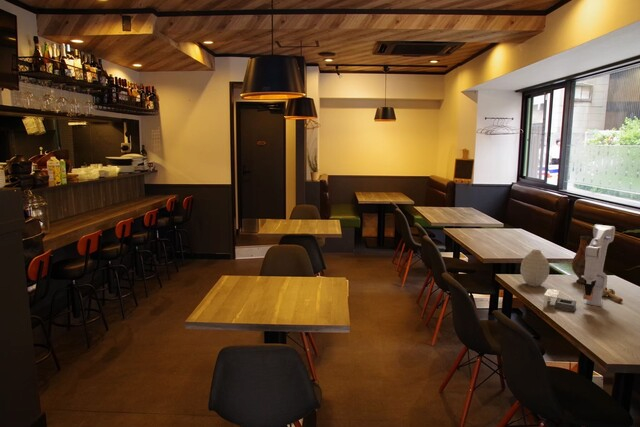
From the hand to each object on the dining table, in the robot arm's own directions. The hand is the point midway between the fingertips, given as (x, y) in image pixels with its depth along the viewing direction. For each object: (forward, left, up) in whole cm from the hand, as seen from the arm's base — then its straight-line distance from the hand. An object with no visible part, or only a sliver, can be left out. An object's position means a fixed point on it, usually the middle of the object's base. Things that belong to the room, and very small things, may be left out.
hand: (588, 294), depth 250 cm
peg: (0, 0, -2) cm, 2 cm away
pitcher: (-58, -5, -10) cm, 59 cm away
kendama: (-34, +9, -10) cm, 37 cm away
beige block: (+1, -17, -9) cm, 19 cm away
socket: (+1, -10, -9) cm, 14 cm away
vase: (-34, -32, -10) cm, 48 cm away
